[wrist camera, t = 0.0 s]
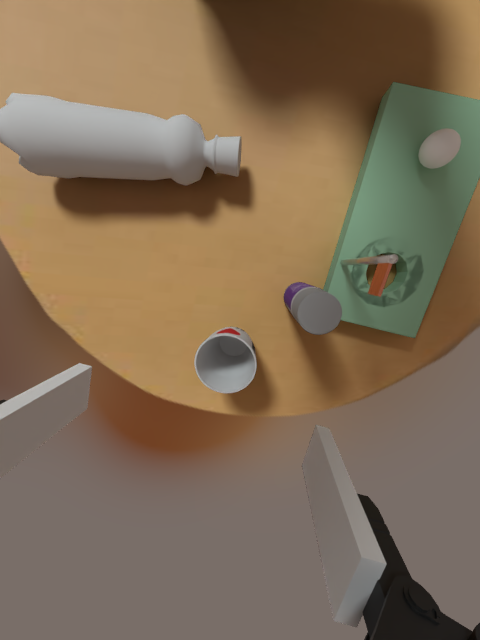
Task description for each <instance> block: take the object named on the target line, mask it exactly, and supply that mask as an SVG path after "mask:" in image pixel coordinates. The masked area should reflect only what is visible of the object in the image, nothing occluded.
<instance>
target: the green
mask: <svg viewBox="0 0 480 640" xmlns="http://www.w3.org/2000/svg"><path fill="white" fill-rule="evenodd" d="M445 128H449V129H453V130H455V131H457V132H458V134H459V135H460V138H461V145H460V149H459V151H458V153H457V154H456V156H455V157H454V158H453V159H452V160H451V161H450V162H449V163H447V164H446V165H444V166H442V167H439V168H435V169H430V168H426V167H424V166H423V165H422V164H421V163H420V161H419V157H418V154H419V149H420V147H421V145H422V143H423V142H424V140H425V139H426V138H427V137H428V136H429V135H430V134H432V133H433V132H435V131H437V130H440V129H445ZM479 177H480V100H477V99H472V98H468V97H463V96H458V95H453V94H449V93H444V92H439V91H434V90H430V89H425V88H420V87H415V86H411V85H406V84H401V83H397V82H393V83H392V84H391V86H390V87H389V89H388V90H387V92H386V93H385V94H384V96H383V97H382V100H381V103H380V106H379V109H378V113H377V116H376V119H375V122H374V126H373V129H372V132H371V136H370V139H369V142H368V145H367V149H366V152H365V155H364V158H363V162H362V165H361V168H360V171H359V175H358V178H357V181H356V185H355V188H354V191H353V194H352V198H351V201H350V204H349V207H348V211H347V214H346V217H345V220H344V224H343V227H342V230H341V234H340V237H339V240H338V243H337V247H336V250H335V253H334V256H333V260H332V263H331V266H330V269H329V273H328V276H327V279H326V283H325V286H324V289H323V290H324V291H326V292H328V293H330V294H332V295H333V296H335V297H336V298H337V299H338V301H339V302H340V304H341V307H342V317H341V320H342V321H346V322H351V323H355V324H359V325H363V326H367V327H371V328H375V329H379V330H383V331H387V332H391V333H395V334H400V335H404V336H408V337H412V338H415V337H416V334H417V332H418V329H419V327H420V324H421V322H422V319H423V317H424V314H425V312H426V309H427V307H428V304H429V302H430V299H431V297H432V294H433V292H434V289H435V287H436V284H437V282H438V279H439V277H440V274H441V272H442V269H443V267H444V265H445V262H446V260H447V257H448V255H449V252H450V250H451V247H452V245H453V242H454V240H455V237H456V235H457V232H458V230H459V227H460V225H461V222H462V220H463V217H464V215H465V212H466V210H467V207H468V205H469V202H470V200H471V197H472V195H473V192H474V190H475V187H476V185H477V182H478V180H479ZM379 254H385V255H391V254H396V255H397V256H398V261H397V262H396V263H395V264H396V270H397V273H396V276H395V278H394V281H393V282H392V283H391V284H390V285H389V286H388V287H387V288H386V289H383V292H382V295H381V297H379V296H375V295H371V294H368V291H369V288H370V285H369V284H368V282H367V278H366V271H367V268H368V265H369V264H368V265H341V264H340V262H341V260H344V259H353V258H363V257H372V256H377V255H379Z"/></svg>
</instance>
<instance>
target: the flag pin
mask: <svg viewBox="0 0 480 640" xmlns="http://www.w3.org/2000/svg"><path fill="white" fill-rule="evenodd" d="M397 261H398V256H397V255H396V254H391V255H382V256H372V257H363V258H353V259H344V260H341V262H340V264H341V265H368V264H378V265H377V268H376V271H375V274H374V277H373V280H372V282H371V285H370V288H369V291H368V294H371V295H375V296H379V297H381V295H382V292H383V289H384V286H385V284H386V281H387V278H388V275H389V272H390V270H391V267H392V264H394V263H396V262H397Z"/></svg>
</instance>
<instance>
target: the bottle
mask: <svg viewBox="0 0 480 640" xmlns="http://www.w3.org/2000/svg"><path fill="white" fill-rule="evenodd" d="M6 104H7V105H6V106H4V107H3V108H1V109H0V142H1V143H3V144H4V145H5V146H7V147H8V148H10V149H11V150H13V151H14V152H16V153H17V154H18V155H20V156H19V164H21V165H22V166H23V167H24V168H26V169H27V170H28V171H30V172H32V173H35V174H37V175H42V176H52V177H61V178H76V177H93V178H114V179H135V180H160V179H168V178H171V179H173V180H174V181H175V182H177V183H179V184H182V185H185V186H187V185H189V184H192V183H194V182H196V181H199V180H201V177H202V175H203V172H204V170H205V167H207V166H208V167H209V168H210V169H212V170H213V171H214V173H215V174H217V173H222V174H227V175H231V176H236V177H238V176H239V171H240V162H241V137H218V135H216V136H215V138H214V139H212V140H210V141H206V140H205V137H204V134H203V131H202V128H201V125H200V124H199V123H197V122H196V121H194V120H193V119H191V118H190V117H188V116H187V115H184V114H182V115H176V116H173V117H171V118H170V119H168V120H165V119H162V118H159V117H156V116H153V115H150V114H147V113H140V112H134V111H127V110H120V109H114V108H107V107H100V106H94V105H87V104H80V103H74V102H67V101H64V100H61V99H58V98H54V97H50V96H43V95H29V94H18V93H12V94H11V95H10V96H9V98H8V99H7V100H6Z"/></svg>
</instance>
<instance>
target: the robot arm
mask: <svg viewBox="0 0 480 640" xmlns="http://www.w3.org/2000/svg"><path fill="white" fill-rule="evenodd" d="M91 371H92V366H88V365H84V364H80V363H79V364H77V365H75V366H73V367H71V368H69V369H67V370H65V371H63V372H62V373H60V374H58V375H56V376H54V377H52V378H50V379H48V380H46V381H44V382H42V383H40V384H39V385H37V386H35V387H33V388H31V389H29V390H27V391H25V392H23V393H21V394H19V395H18V396H15V397H14V398H12V399H10V400H8V401H6V400H1V401H0V478H1V477H2V476H4V475H5V474H6V473H8V472H9V471H10V470H11V469H13V468H14V467H15V466H16V465H18V464H19V463H20V462H21V461H23V460H24V459H25V458H26V457H28V456H29V455H30V454H31V453H32V452H34V451H35V450H36V449H37V448H39V447H40V446H41V445H42V444H44V443H45V442H46V441H47V440H49V439H50V438H51V437H52V436H54V435H55V434H56V433H57V432H59V431H60V430H61V429H62V428H64V427H65V426H66V425H67V424H69V423H70V422H71V421H72V420H74V419H75V418H76V417H77V416H78V415H80V414H81V413H82V412H83V411H85V410H86V409H87V406H88V397H89V388H90V380H91V379H90V378H91ZM302 468H303V473H304V478H305V483H306V488H307V493H308V498H309V503H310V508H311V513H312V518H313V523H314V527H315V532H316V537H317V542H318V547H319V552H320V557H321V561H322V567H323V571H324V576H325V581H326V586H327V591H328V596H329V600H330V605H331V610H332V616H333V620H334V621H336V622H340V623H343V624H347V625H350V626H354V627H357V626H358V624H359V621H360V619H361V617H362V615H363V616H364V619H365V623H366V626H367V630H368V633H367V635H366V637H365V639H364V640H480V623H479V624H478V625H477V626H476V627H475V628H474V630H473V632H472V631H471V630H469V629H467V628H466V627H464V626H462V625H461V624H459V623H458V622H456V621H454V620H453V619H451V618H449V617H448V616H446V615H445V614H443V613H442V612H441V611H440V609H439V607H438V605H437V604H436V602H435V601H434V599H433V598H432V597H431V595H430V594H429V593H428V592H427V591H426V590H425V589H424V588H423V587H422V586H421V585H420V584H418V583H417V582H415V581H414V580H413V579H412V578H411V576H410V574H409V572H408V570H407V567H406V565H405V563H404V561H403V559H402V557H401V555H400V553H399V551H398V549H397V547H396V545H395V543H394V541H393V539H392V536H390V532H389V530H388V528H387V526H386V525H385V524H384V520H383V518H382V516H381V514H380V512H379V510H378V508H377V507H376V506H375V505H374V503H373V502H372V501H371V500H370V498H369V497H368V496H364V495H360V494H357V493H356V490H355V488H354V486H353V483H352V481H351V478H350V476H349V474H348V471H347V470H346V467H345V464H344V462H343V459H342V457H341V455H340V452H339V450H338V448H337V445H336V443H335V441H334V438H333V436H332V433H331V431H330V429H329V428H326V427H323V426H319V425H316V426H315V429H314V432H313V435H312V437H311V440H310V443H309V447H308V449H307V452H306V455H305V458H304V461H303V464H302Z"/></svg>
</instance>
